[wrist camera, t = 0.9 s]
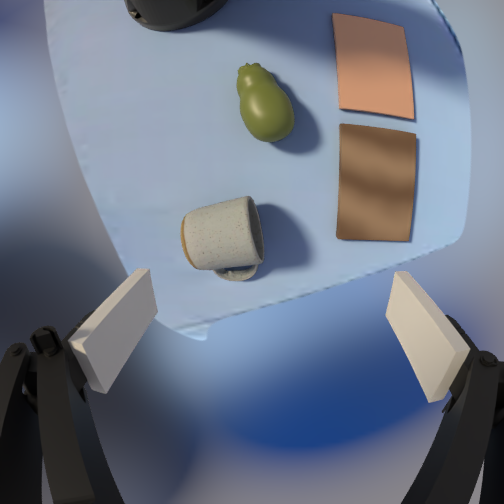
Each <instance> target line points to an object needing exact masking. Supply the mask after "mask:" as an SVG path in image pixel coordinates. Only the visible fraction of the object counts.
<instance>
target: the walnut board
mask: <svg viewBox="0 0 504 504" xmlns="http://www.w3.org/2000/svg"><path fill="white" fill-rule="evenodd" d="M339 129H340V160H339V195H338V215H337V231H336V237H337V238H338V239H352V240H389V241H409V235H410V227H411V219H412V210H413V199H414V186H415V167H416V134H414V133H409V132H403V131H397V130H391V129H385V128H377V127H370V126H362V125H352V124H340V125H339Z"/></svg>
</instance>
